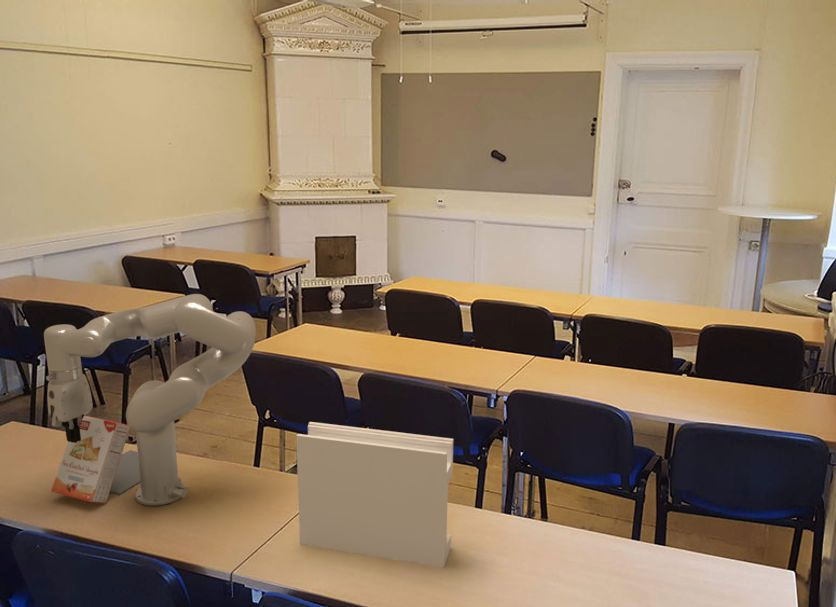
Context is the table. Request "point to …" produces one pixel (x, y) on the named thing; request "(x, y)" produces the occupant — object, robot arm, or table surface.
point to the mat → (126, 473)
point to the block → (374, 492)
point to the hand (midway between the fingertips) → (74, 440)
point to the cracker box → (91, 460)
